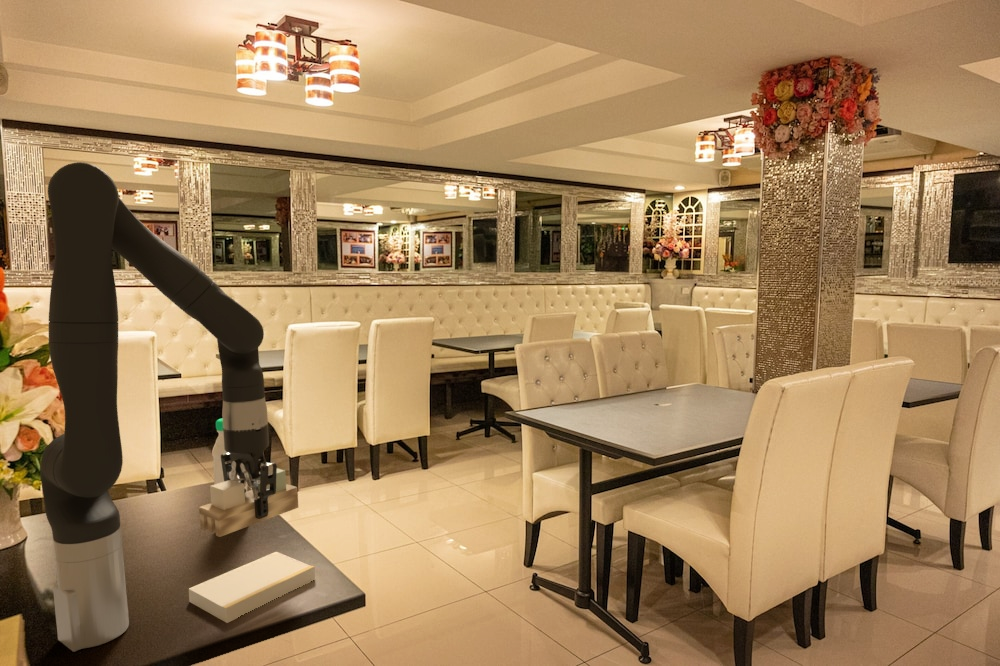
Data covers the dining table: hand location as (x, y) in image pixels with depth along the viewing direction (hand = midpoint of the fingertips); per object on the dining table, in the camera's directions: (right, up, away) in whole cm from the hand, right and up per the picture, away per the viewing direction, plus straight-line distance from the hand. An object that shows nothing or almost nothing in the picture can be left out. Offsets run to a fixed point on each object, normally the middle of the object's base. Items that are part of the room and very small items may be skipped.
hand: (251, 513), depth 120 cm
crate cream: (-3, +3, -4) cm, 5 cm away
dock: (0, -14, +1) cm, 15 cm away
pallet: (0, -1, 0) cm, 1 cm away
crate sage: (+2, +4, +3) cm, 5 cm away
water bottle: (-16, -12, +31) cm, 37 cm away
